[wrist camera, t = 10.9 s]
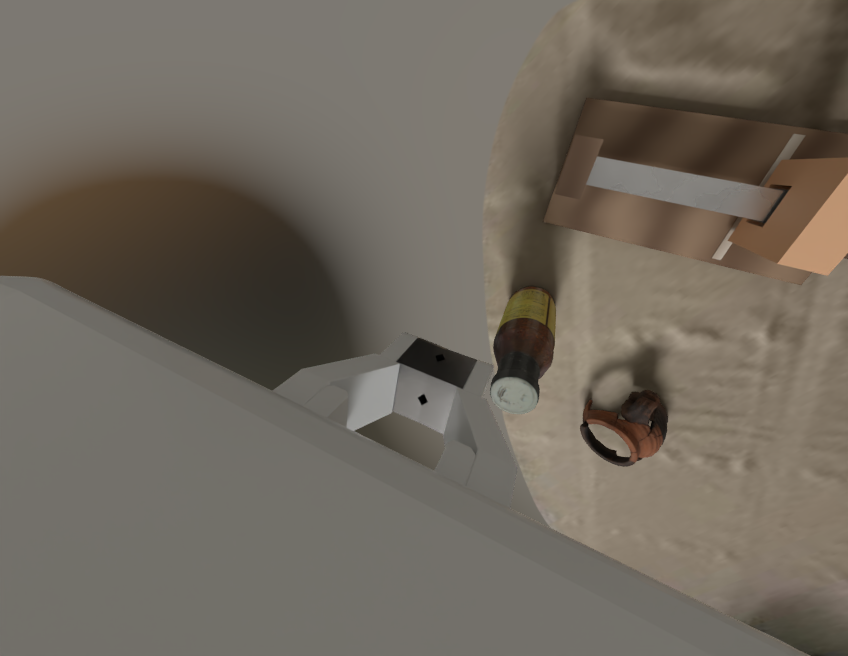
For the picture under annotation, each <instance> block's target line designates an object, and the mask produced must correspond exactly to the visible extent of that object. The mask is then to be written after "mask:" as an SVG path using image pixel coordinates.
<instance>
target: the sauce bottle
mask: <svg viewBox="0 0 848 656" xmlns="http://www.w3.org/2000/svg"><path fill="white" fill-rule="evenodd" d="M555 322H556V307H555V304H554V301H553V299H552V297H551V296H550V294H549V293H548V292H547V291H545V290H544V289H541V288H537V287H532V286H530V287H525V288H522V289H520V290H518V291H517V292H515V293H514V294H513V295H512V297H511V298H510V300H509V301H508V304H507V306H506V309H505V311H504V314H503V317H502V320H501V322H500V325H499V328H498V331H497V333H496V336H495V339H494V346H493V349H494V355H495V358H496V361H497V365H498V371H497V374H496V375H495V376H494V377H493V379H492V382H491V388H490V395H491V398H492V400H493V402H494V403H495V405H496V406H497V407H498V408H500V409H501V410H503V411H505V412H508V413H512V414H525V413H528V412H530V411H532V410H533V409H534V408H535V406H536V405H537V403H538V399H539V390H540V389H539V385H538V379H540V378H541V377H542V376H543V375H544V373H545V372H546V371H547V370H548V368H549V367H550V365H551V363H552V360H553V353H554V352H553V350H554V346H555Z"/></svg>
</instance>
